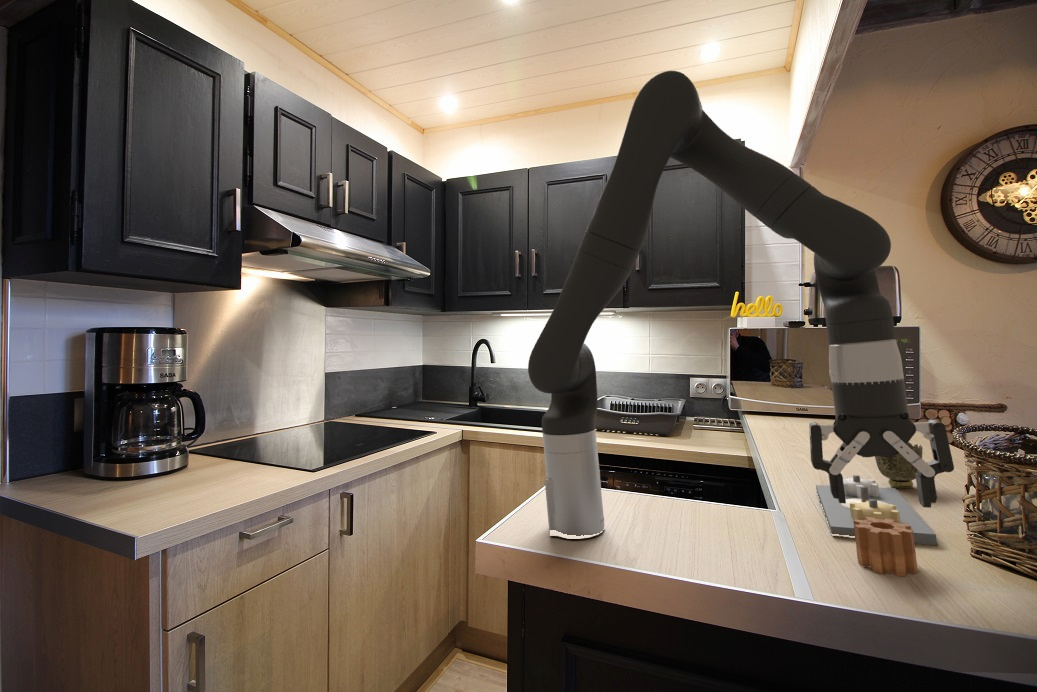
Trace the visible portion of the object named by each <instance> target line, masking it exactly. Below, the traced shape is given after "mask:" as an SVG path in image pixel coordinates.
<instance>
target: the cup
mask: <svg viewBox="0 0 1037 692" xmlns="http://www.w3.org/2000/svg"><path fill="white" fill-rule="evenodd" d="M906 445H907V446H908V447H910V448H911V449H912V450H913V451H914V452H915V453H916V454H917V455H918V456H920V457H921V458H922V459H923V449H924V448H923V446H922V445H921V444H920V445H918V444H914V445H913V443H911V442H910V441H909V442H908V443H907V444H906ZM874 460H875V463H876V466H877V468H878V471H879V472H880V474H881V475H882V476H883V477H885V478H887V479H888V481H887V482H888V484H889V486H890V487H891V488H895V489H897V490H898V489H899V490H909V489H912V488H913V487H914V482H913V481H914V480H916V476H915V473H918V471H917V469H916V468H915V467H914V466H913V465H912V464H911V463H910V462H909V461H908V460H906V459H905V458H904V457H903V456H902V455H901V454H900V453H899V454H898V455H896V456H893V457H881V456H874Z"/></svg>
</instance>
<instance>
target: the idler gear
mask: <svg viewBox="0 0 1037 692" xmlns="http://www.w3.org/2000/svg"><path fill="white" fill-rule="evenodd" d="M853 522H854V531H855V538H854V540H855V546H856V548H855V549H856V556H857V561H858V565H860V566H861V567H862V566H870V567H871V569H872V568H873V569H872V570H873V572H874V573H877V572H878V573H877V574H880V573H881V575H883V574H884V573H887V574H894V575H895V576H897V577H906V576H907V575H906V574H907V572H908V573H911V574H914V575H916V574H917V572H919V571H918V561H917V553H916V544H915V543H914V535H913V530H911V526H910V525H908V524H899V523H897V522H895V520H892V519H887V518H886V519H885V520H881V519H874V518H873V517H865V520H858V519H855V520H854V521H853ZM870 567H869V568H870Z"/></svg>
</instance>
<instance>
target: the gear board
mask: <svg viewBox="0 0 1037 692" xmlns="http://www.w3.org/2000/svg"><path fill="white" fill-rule="evenodd" d="M843 484H844V491H845V499H846V503H839V501H838V499H836V498H834V497H833V495H832V493H831V491H830V484H829V485H827V484H826V485H825V484H822V485H821V484H815V490H817V491H816V494H817V493H818V495H817V497H818V496H819V498H818V500H819V499H820V501H819V503H820V502H821V504H822V507H823V510H824V512H823V514H824V513H825V515H824V517H825V516H826V518H827V521H828V524H829V527H830V530H831V532H830V534H831V533H832V534H839V535H849V536H855V531H854V522H853V521H854V520H855V519H858V520H865V517H873V518H874V519H881V520H885V519H886V518H887V519H892V520H895V522H897V523H899V524H908V525H910V526H911V530H913V535H914V543H916V544H917V545H928V546H929V545H930V546H938V539H937V534H936V533H935V532H934V530H933V529H932V528H931V526H929V525H928V524H927V523H926V521H925V520H924V519H923V518H922V517H921V515H920V514H918V512H917V511H916V510H915V509H914V508H913V507H912V506H911V504H910V503H909V502H908V501H907V500H906V498H904V496H903V495H901V493H900V492H899V491H898V489H897V488H894V487H879V484H878V483H876V480H874V479H869V478H868V479H867V478H866V479H865V478H861V477H860V475H857V474H854V475H852V476H851V477H847V478H843ZM821 504H820V505H821ZM822 507H821V508H822ZM823 510H822V511H823ZM826 518H825V519H826ZM827 521H826V522H827ZM828 524H827V525H828ZM829 527H828V528H829ZM830 530H829V531H830ZM916 544H915V545H916Z"/></svg>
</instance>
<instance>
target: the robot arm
mask: <svg viewBox="0 0 1037 692" xmlns="http://www.w3.org/2000/svg"><path fill="white" fill-rule="evenodd" d="M630 109H631V110H630V113H629V116H628V119H627V122H626V126H625V130H624V132H623V133H624V134H623V136H622V140H621V143H620V147H619V149H618V152H617V156H616V159H615V162H614V164H613V166H612V167H613V168H612V169H611V171H610V174H609V176H608V179H607V181H606V183H605V185H604V188H603V189H602V193H601V195H600V196H599V199H598V201H597V204H596V207H595V209H594V211H593V214H592V216H591V219H590V221H589V223H588V224H587V227H586V230H585V232H584V235H583V237H582V239H581V241H580V244H579V246H578V250H577V252H576V254H575V257H574V260H573V263H572V265H571V267H570V270H569V272H568V275H567V277H566V279H565V282H564V284H563V287H562V289H561V291H560V294H559V296H558V299H557V301H556V304H555V306H554V308H553V310H552V311H551V313H550V315H549V317H548V320H547V322H546V324H545V325H544V327H543V329H542V330H541V333H540V334H539V336H538V338H537V340H536V341H535V344H534V345H533V348H532V350H531V352H530V355H529V359H528V366H527V373H528V377H529V380H530V382H531V384H532V385H533V387H534V388H535V389H536V390H537V391H539V392H541V393H543V394H551V395H550V397H551V401H550V404H549V406H548V409H547V411H546V412H545V413H544V414H543V416H542V419H541V430H542V431H541V432H542V441H543V452H544V464H545V475H546V477H545V479H544V486H545V499H546V509H547V510H546V511H547V523H548V531H549V530H556V531H558V532H561V533H563V534H567V535H576V536H581V535H583V536H584V535H593V534H597V533H600V532H601V531H603V529H604V527H605V516H604V507H603V497H602V486H601V485H602V483H601V473H600V463H599V462H600V461H599V451H598V443H597V431H596V416H597V413H598V406H599V405H598V403H599V402H598V384H597V369H596V362H595V359H594V355H593V353H592V351H591V349H590V348H589V346H588V345H587V344H586V343H585V341H586V339H587V336H588V334H589V332H590V330H591V328H592V326H593V324H594V323H595V321H596V320H597V318H598V317H599V316H600V314H601V313H602V312H603V311H604V309H605V308H606V307H607V306H608V305H609V304H610V302H612V300H613V299H614V298H615V296H617V294H618V293H619V292H620V291H621V289H622V288H623V286H624V285H625V284H626V282H627V280H628V278H629V276H630V275H631V273H632V271H633V269H634V265H635V264H636V261H637V260H638V257H639V255H640V252H641V251H642V249H643V245H644V243H645V240H646V237H647V232H648V229H649V225H650V222H651V216H652V212H653V211H652V210H653V206H654V202H655V197H656V192H657V189H658V185H659V182H660V179H661V177H662V175H663V173H664V170H665V169H666V166H667V164H668V162H669V160H670V159H673V160H675V161H676V162H679V163H681V164H683V165H685V166H686V167H688V168H690V169H692V170H693V171H695V172H696V173H698V174H700V175H701V176H703V177H704V178H706V179H707V180H709V181H710V182H712V184H714V185H716V187H718V188H719V189H720V190H721V191H723V192H724V193H725V194H726V195H728V196H729V197H730V198H731V199H732V200H733V201H735V202H736V203H737V205H739V206H741V207H742V208H743V209H744V210H746V211H747V212H748V213H749V214H750V215H752V216H753V217H755V218H756V219H757V220H758V221H759V222H760V223H762V224H763V225H764V226H766V227H767V228H768V229H770V230H771V231H772V232H774V233H775V234H777V235H778V236H780V237H782V238H784V239H790V240H791V239H793V240H795V241H797V242H798V243H800V244H801V245H803V246H804V247H806V249H808V250H809V251H811V252H812V253H813V268H814V273H815V278H816V284H817V286H818V291H819V294H820V297H821V300H822V303H823V307H824V312H825V324H826V334H827V342H828V366H829V367H828V368H829V370H828V371H829V372H828V374H829V378H830V381H831V382H830V384H831V391H832V398H833V405H834V415H835V420H834V422H833V424H827V423H826V424H825V423H818V422H815V421H812V422H810V423H809V425H808V427H809V428H808V430H809V432H808V433H809V451H810V462H811V465H812V467H813V469H815V470H817V471H818V470H820V471H822V472H823V471H824V472H825V473H827V474H828V481H829V486H830V491H831V493H832V495H833V497H834V498H836V499H838V501H839V503H846V499H845V491H844V484H843V479H844V478H843V474H842V471H843V469H845V467H846V466H847V465H848V464H849V463H851V461H852V460H853V459H854V458H855V457H856V455H857V456H860V457H862V458H873V457H874V458H875V456H881V457H893V456H896V455H898V454H899V453H900V454H901V455H902V456H903V457H904V458H905V459H906V460H908V461H909V462H910V463H911V464H912V465H913V466H914V467H915V468H916V469H917V471H918V473H915V476H916V479H915V481H916V482H915V483H916V488H917V489H916V490H917V498H918V502H919V504H920V506H922V507H923V508H929V509H930V508H932V504H935V503H936V502H937V500H938V497H937V489H936V481H935V478H936V476H937V475H938V474H942V473H952V472H953V471H955V465H954V461H953V456H952V453H951V448H950V444H949V437H948V433H947V429H946V425H945V423H942V422H941V421H939V420H937V419H928V420H926V421H922V422H921V421H917V422H913V421H912V420H911V418H910V416H909V415H910V414H909V406H908V399H907V392H906V385H905V376H904V371H903V370H904V369H903V362H902V361H903V360H902V356H901V353H900V350H899V346H898V344H897V337H896V330H895V322H894V315H893V310H892V306H891V303H890V301H889V300H888V298H886V297H885V296H884V295H882V294H881V290H880V286H879V282H878V276H877V271H876V270H877V269H878V268H879V267H881V266H882V265H883V264H884V263H885V262H886V260H887V259H888V257H889V256H890V252H891V248H892V241H891V237H890V235H889V233H888V232H887V230H886V229H885V228H884V227H883V226H882V225H881V224H880V223H879V222H878V221H877V220H875V219H874V218H873V217H871V216H869V215H868V214H867V213H865V212H863V211H861V210H859V209H856V208H855V207H852V206H850V205H848V204H846V203H844V202H841V201H839V200H838V199H835V198H832V197H830V196H827V195H825V194H824V193H822V192H821V191H819V189H818V188H816V187H815V186H814V185H812V184H811V183H810V182H808V180H807V181H806V180H805V179H804V178H802V177H801V176H800V175H798V174H797V173H795V172H794V171H793V170H791V169H790V168H788V167H787V166H785V165H784V164H782V163H780V162H778V161H776V160H775V159H773V158H771V157H769V156H767V155H765V154H763V153H760V152H758V151H756V150H754V149H751V148H750V147H747V146H746V145H744V144H742V143H740V142H739V141H738V140H735V138H733V137H731V135H729V134H727V132H725V131H724V130H723V129H721V128H720V126H718V124H716V122H715V121H714V120H713V119H712V118H711V117H710V116H709V115H708V114H707V113H706V112H705V111H704V109H703V105H702V102H701V99H700V95H699V92H698V90H697V87H696V86H695V84H694V83H693V82H692V80H691V79H690V78H689V77H688V76H687V75H686V74H684V73H682V72H680V71H677V70H665V71H662V72H661V73H658V74H656V75H655V76H653V77H651V78H650V79H649V80H648V81H647V82H646V83H645V84H644V85H643V87H641V88H640V90H639V92H638V94H637V96H636V97H635V99H634V101H633V104H632V107H631V108H630ZM916 432H919V433H920V434H921V437H923V438H924V439H926V440H929V444H930V450H931V453H932V458H933V460H930V461H927V462H926V461H925V460H924V459H923V457H922V458H921V457H920V456H918V455H917V454H916V453H915V452H914V451H913V450H912V449H911V448H910V447H908V446H907V445H906V444H907V443H908V442H909V443H910V441H911V439H912V438H913V437H914V435H915V434H916ZM832 433H834V435H835V436H836V437H837V438H838V439H839V440H841V441H842V443H841V444H840V446H839V447H838V448H837V450H836V451H835V453H834V455H833V456H832V457H831V458H830V460H826V459H824V455H823V441H827V440H828V439H829V436H830V434H832Z"/></svg>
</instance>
